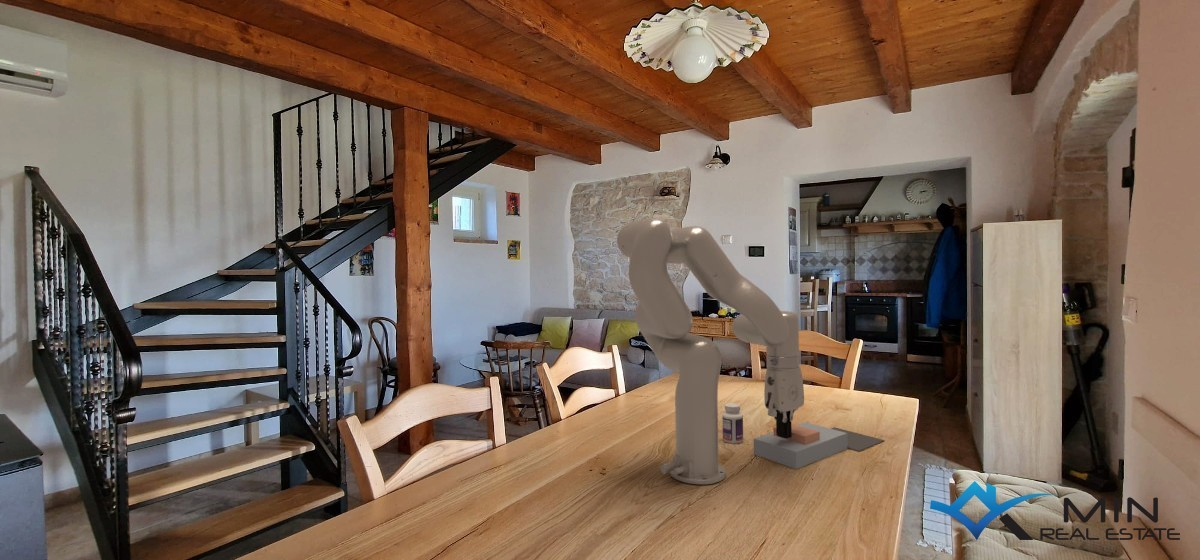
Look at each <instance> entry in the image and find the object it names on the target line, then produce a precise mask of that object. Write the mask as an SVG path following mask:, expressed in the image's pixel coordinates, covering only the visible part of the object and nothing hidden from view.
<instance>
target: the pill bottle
mask: <svg viewBox="0 0 1200 560" xmlns="http://www.w3.org/2000/svg"><path fill="white" fill-rule="evenodd" d="M740 411H741V405H740V404H739V403H734V402H732V403H731V402H729V403H725V404H724V412H722V418H721V419H722V421H721V423H722V440H723V441H724V442H725V443H727V444H741V443H743V442H744V416H743V414H742V412H740Z"/></svg>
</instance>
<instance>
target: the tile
mask: <svg viewBox="0 0 1200 560" xmlns="http://www.w3.org/2000/svg"><path fill="white" fill-rule="evenodd" d="M797 425H798V424H793V423H791V427H792V437H790V438H788V440H791V441H794V442H798V443H801V444H804V445H806V444H809V443H812V442H815V441H817V440H820V432H819V431H815V430H812V429H808V428H804V427H801V426H797ZM773 432H774V436H777V435H776V426H774V427H773ZM778 437H779V436H778ZM781 438H782V437H781ZM784 439H786V438H784Z"/></svg>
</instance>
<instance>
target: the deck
mask: <svg viewBox="0 0 1200 560" xmlns="http://www.w3.org/2000/svg"><path fill="white" fill-rule="evenodd" d="M796 425H797V426H801V427H804V428H808V429H812V430H815V431H819V432H820V440H817V441H815V442H812V443H809V444H806V445H804V444H801V443H798V442H794V441H791V440H788V439H784V438H781V437H778V436H774V431H773V432H770V433H767V434H763V435H761V436H757V437H754V438H753V455H754V456H758V457H760V458H763V459H766V460H769V461H772V462H774V463H778V464H779V465H782V466H785V467H789V468H791V469H795V470H797V469H800V468H802V467H805V466H808V465H810V464H811V465H812V464H813V463H815V462H817V461H820V460H823V459H825V458H828V457H831V456H833V455H836V454H838V453H841V452H842V451H845V450H848V449H847V433H845V432H841V431H837V430H833V429H831V428H829V427H825V426H821V425H817V424H815V423H809V422H807V421H806V422H805V421H804V422H801V423H798V424H796Z"/></svg>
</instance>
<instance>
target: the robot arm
mask: <svg viewBox="0 0 1200 560" xmlns="http://www.w3.org/2000/svg"><path fill="white" fill-rule="evenodd" d="M616 238H617V239H616V242H617V243H616V244H617V247H618V249H619V251H620V253H622V255H624V256H625V257H626V258H629V265H628V279H629V284H630V287H631V289H632V291H633V293H634V295H635V296H636V298H637V301H638V304H637V305H636V306H637V307H635V316H634V317H635V318H634V319H635V322H636V325H637V328H638V330H639V331H640V334H641V335H642V337H643V338H644V340H645V341H646V343H647V344H648V346H649V348H650V349H651V351H652V352H653V354H654V355H655V357H656V358H657V360H658V361H659V362H660V363H661V365H663V366H664V367H666V368H667V369H669V370H670V371H673V372H676V373H679V376H678V380H677V383H676V387H675V392H674V393H675V395H674V407H675V409H674V410H675V414H674V415H675V416H674V417H675V419H674V420H675V454H673V455H672V460H671V461H670V462H667V463H663V464H660V466H659V469H660V472H661V474H664V475H665V474H667V473H669V475H670V476H671V477H672V478H673V479H674V480H677V481H679V482H682V483H685V484H691V485H712V484H717V483H719V482H721V481H722V480H724V479H725V477H726V475H727V474H726V469H725V467H724V466H723V465H722V464H720V463H719V412H718V411H719V406H718V404H719V403H718V401H719V400H718V398H719V397H718V396H719V395H718V392H719V391H718V390H719V378H720V373H721V367H722V354H721V350H720V348H719V347H718V346H717V344H716V343H715V342H714V341H712V340H711V339H710V338H709V337H705V336H703V335H697V334H694V333H691V331H692V329H693V326H694V318H693V315H692V312H691V310H690V308H689V306H688V305H687V303H686V301H685V300H684V298H683V297H682V295H681V293H680V292H679V291H678V289H677V287H676V285H675V284H674V282H673V280H672V278H671V277H670V274H669V272H668V267H667V266H668V265H667V264H673V265H674V264H676V265H678V264H679V265H681V264H685V266H686V267H687V268H688V269H689V271H690V273H692V274H693V276H694V277H695V279H696V280H697V281H698V283H699V285H701V286H702V288H703V289H704V290H705V292H706V293H707V295H708V296H710V297H711V298H712V299H714V300H716V301H717V302H719V303H720V304H723V305H726V306H727V307H730V308H732V309H734V310H735V311H737V312H738V313H740V314H738V315H737V316H736V317H735V318H734V320H733V322H732V332H733V334H734V336H735V337H736V338H737V339H738V340H739V341H742V342H744V343H746V344H747V343H748V344H752V345H758V346H763V347H766V349H765V350H766V351H765V352H766V370H765V376H764V377H765V378H764V393H763V396H764V399H763V401H764V407H765V408H766V409H767V410H768V411H767V415H768V416H769V417H773V418H774V420H775V424H776V425H775V427H776V435H777V436H779V437H782V438H786V439H788V438H790V437H792V427H791V424H792V422H793V419H794V413H795V412H796V411H797V410H799V409H800V408H801V407H803V406H804V405H805V389H804V388H805V387H804V380H803V372H802V369H801V366H800V344H799V343H800V334H799V333H800V332H799V331H800V330H799V329H800V328H799V325H800V324H799V323H800V322H799V316H798V314H797V313H796V312H793V311H787V310H781V309H780V308H779V306H778V305H777V304H776V303H775V301H773V299H772V298H771V297H770V296H769V295H768V294H767V293H766V292H764V290H762V289H760V288H759V287H758V286H757V285H755V284H754V283H753V282H751V280H749V279H748V278H747V277H745V276H743V275H742V274H741V273H739V271H738V270H737V269H736V267H735V266H734V264H733V263H732V261H731V260H730V259H729V258H728V256H727V255H726V254H725V252H724V250H722V248H721V246H720V245H719V243H718V242H717V241H716V240H715V238H714V237H713V235H712V234H711V233H710V231H708V230H707V229H706V228H704V227H702V226H699V225H698V226H697V225H693V226H685V227H680V228H679V227H678V228H671V227H670V225H669V224H668V223H667V221H665V220H663V219H660V218H656V217H655V218H654V217H653V218H652V217H651V218H644V219H641V220H637V221H632V222H628V223H627V224H625V225H623V226H622V227H621V228H620V230H619V232H618V234H617V237H616Z"/></svg>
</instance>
